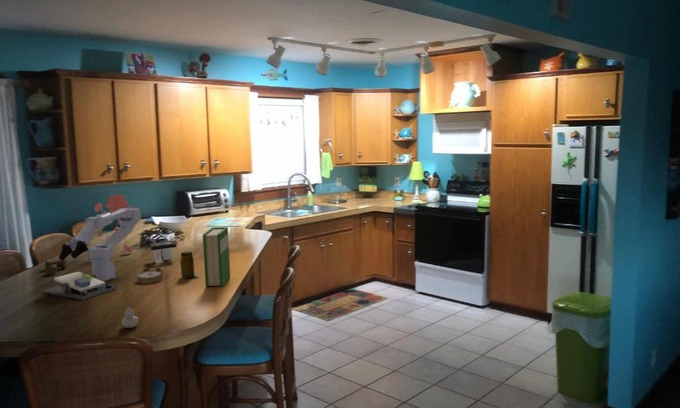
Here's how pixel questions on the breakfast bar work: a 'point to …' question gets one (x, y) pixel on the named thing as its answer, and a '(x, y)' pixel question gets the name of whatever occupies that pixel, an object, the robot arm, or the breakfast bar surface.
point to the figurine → (115, 205)
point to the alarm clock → (150, 276)
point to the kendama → (54, 266)
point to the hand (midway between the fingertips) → (66, 258)
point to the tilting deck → (77, 276)
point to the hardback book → (216, 256)
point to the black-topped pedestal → (162, 250)
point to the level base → (73, 293)
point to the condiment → (187, 266)
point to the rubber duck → (129, 318)
